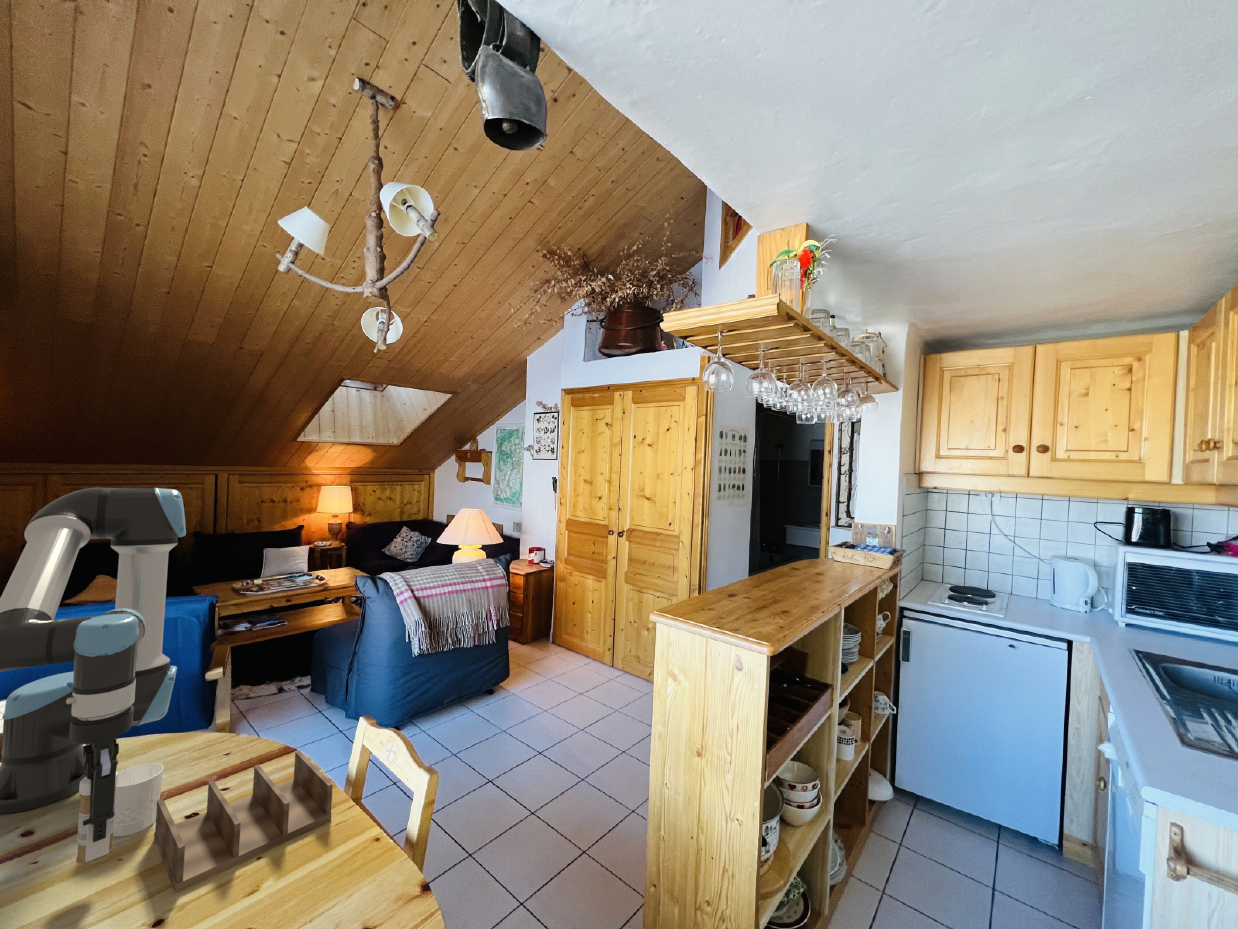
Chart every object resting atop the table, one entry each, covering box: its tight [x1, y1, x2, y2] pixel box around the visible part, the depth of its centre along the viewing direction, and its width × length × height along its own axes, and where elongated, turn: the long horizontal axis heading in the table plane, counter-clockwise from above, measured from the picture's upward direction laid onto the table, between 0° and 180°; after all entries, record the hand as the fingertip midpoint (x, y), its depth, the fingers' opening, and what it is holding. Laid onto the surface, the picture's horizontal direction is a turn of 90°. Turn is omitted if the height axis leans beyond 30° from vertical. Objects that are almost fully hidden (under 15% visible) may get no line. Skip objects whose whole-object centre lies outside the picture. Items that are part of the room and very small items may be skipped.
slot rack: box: [153, 750, 334, 895], centre depth 101 cm, size 18×24×8 cm
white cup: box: [113, 762, 164, 837], centre depth 101 cm, size 8×8×10 cm
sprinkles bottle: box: [75, 770, 119, 865], centre depth 86 cm, size 5×5×13 cm
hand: (95, 848), depth 86 cm, fingers closed on sprinkles bottle, 4 cm apart
